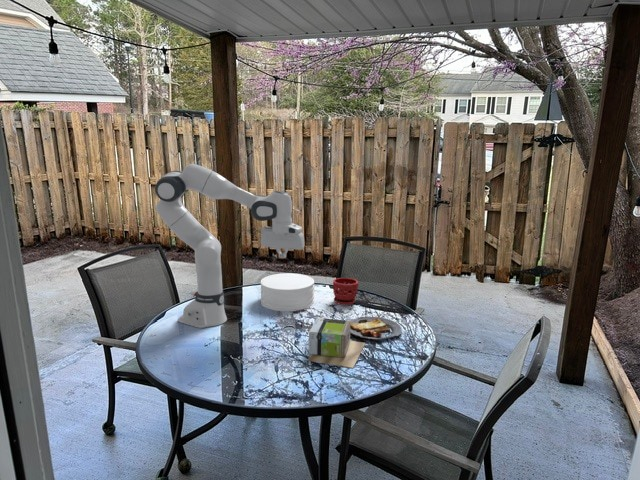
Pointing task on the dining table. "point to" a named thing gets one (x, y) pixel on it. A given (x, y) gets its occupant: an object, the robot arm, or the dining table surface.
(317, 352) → the tea box
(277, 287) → the plate stack
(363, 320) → the food plate
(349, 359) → the cloth mat
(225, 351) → the dining table surface
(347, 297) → the plant pot
